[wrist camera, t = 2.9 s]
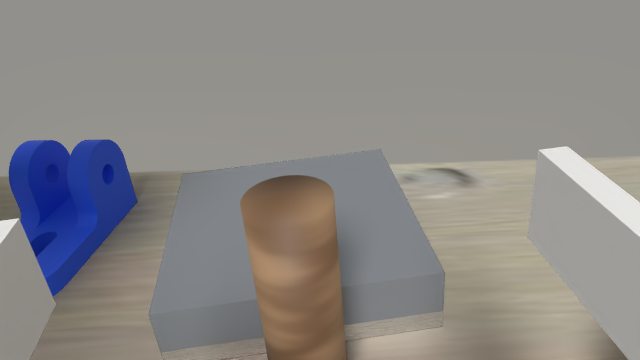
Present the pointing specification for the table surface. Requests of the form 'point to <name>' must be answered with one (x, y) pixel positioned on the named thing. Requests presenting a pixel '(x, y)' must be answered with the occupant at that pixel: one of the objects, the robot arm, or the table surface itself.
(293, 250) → the walnut dowel
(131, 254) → the table surface
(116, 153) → the bracket
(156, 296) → the socket block
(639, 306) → the robot arm
